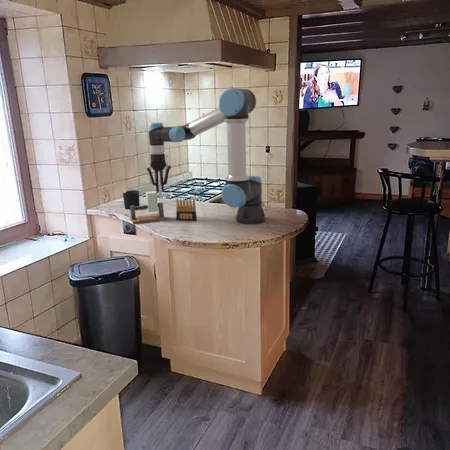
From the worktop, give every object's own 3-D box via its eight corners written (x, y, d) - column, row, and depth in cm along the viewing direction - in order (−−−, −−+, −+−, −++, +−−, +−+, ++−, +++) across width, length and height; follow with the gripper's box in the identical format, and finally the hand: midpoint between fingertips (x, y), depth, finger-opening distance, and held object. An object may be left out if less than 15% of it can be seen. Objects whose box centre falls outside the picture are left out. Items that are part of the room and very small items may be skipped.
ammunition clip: (176, 220, 227) (175, 198, 224) (177, 219, 228) (176, 197, 225) (195, 221, 224) (194, 198, 221) (196, 220, 226) (195, 197, 223)
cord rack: (165, 220, 228) (164, 205, 225) (133, 224, 222) (132, 208, 220) (161, 215, 239) (159, 200, 236) (130, 218, 233) (128, 204, 231)
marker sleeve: (158, 211, 229) (156, 192, 226) (148, 212, 227) (147, 193, 224) (156, 209, 233) (154, 191, 230) (147, 210, 232) (145, 192, 229)
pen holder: (142, 208, 255) (140, 192, 253) (126, 210, 251) (124, 194, 248) (137, 205, 263) (136, 189, 261) (122, 207, 259) (120, 191, 257)
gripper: (168, 151, 229) (170, 195, 236) (143, 153, 225) (147, 197, 231) (171, 153, 222) (174, 197, 229) (146, 154, 218) (149, 200, 225)
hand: (160, 197), depth 230 cm, fingers closed
